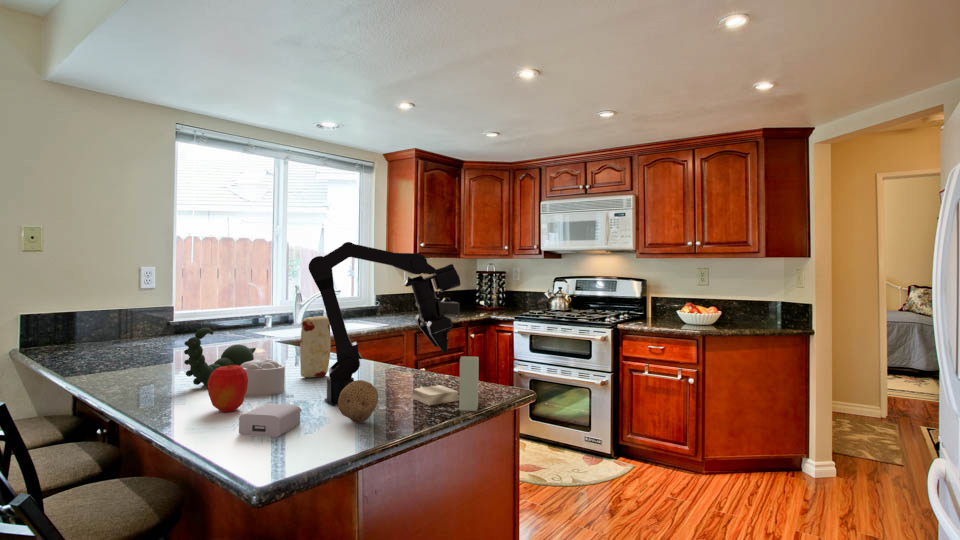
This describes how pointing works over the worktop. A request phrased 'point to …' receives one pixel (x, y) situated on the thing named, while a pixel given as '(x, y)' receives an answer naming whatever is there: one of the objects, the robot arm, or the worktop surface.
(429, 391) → the birch block
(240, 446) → the worktop surface
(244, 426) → the charger
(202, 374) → the toy figurine
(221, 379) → the apple
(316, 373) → the food model
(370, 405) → the natural sponge
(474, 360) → the green pillar
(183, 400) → the worktop surface
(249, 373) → the lumpy-topped squat cylinder
